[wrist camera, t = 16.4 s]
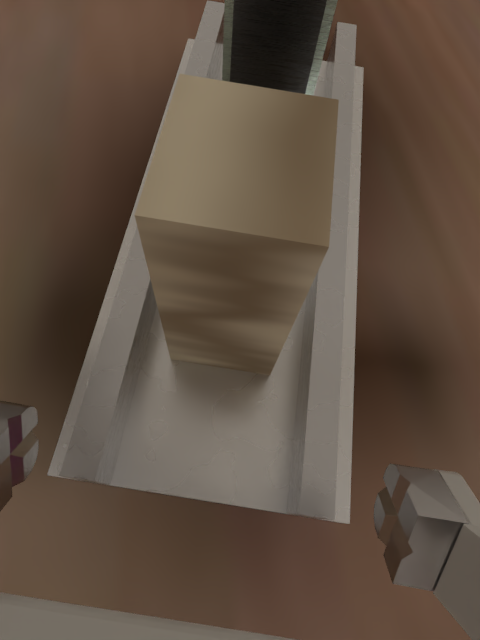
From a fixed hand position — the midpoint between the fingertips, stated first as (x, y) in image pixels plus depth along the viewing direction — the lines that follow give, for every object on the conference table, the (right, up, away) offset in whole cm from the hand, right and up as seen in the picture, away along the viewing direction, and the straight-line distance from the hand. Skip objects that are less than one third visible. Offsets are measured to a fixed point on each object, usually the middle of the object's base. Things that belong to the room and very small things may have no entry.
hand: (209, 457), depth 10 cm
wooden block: (0, +3, +10) cm, 11 cm away
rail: (+1, +8, +13) cm, 16 cm away
